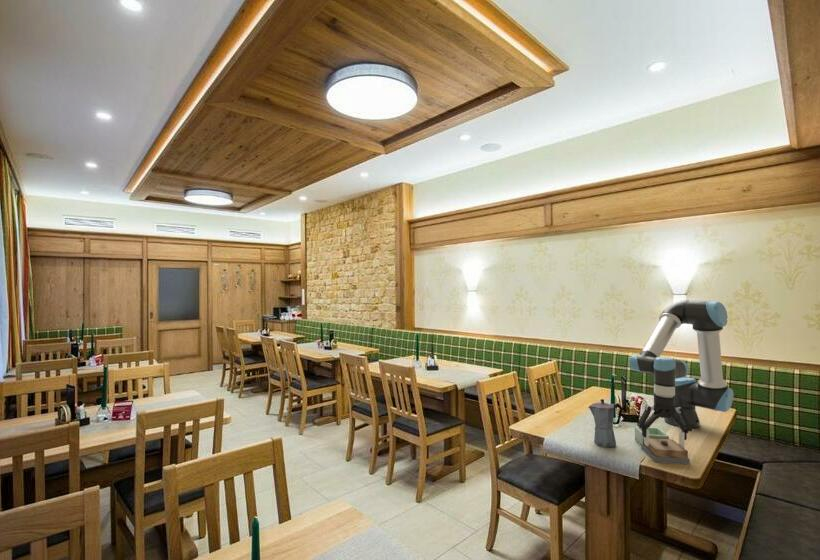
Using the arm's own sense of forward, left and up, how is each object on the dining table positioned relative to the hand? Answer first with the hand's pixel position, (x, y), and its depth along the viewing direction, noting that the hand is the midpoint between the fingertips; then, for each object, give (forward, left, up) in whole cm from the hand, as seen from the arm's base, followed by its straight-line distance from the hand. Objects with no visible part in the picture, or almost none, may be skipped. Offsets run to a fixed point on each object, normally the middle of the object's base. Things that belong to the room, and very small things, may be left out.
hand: (663, 446), depth 167 cm
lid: (0, 0, -2) cm, 2 cm away
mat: (0, 0, -4) cm, 4 cm away
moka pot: (+20, -10, -5) cm, 23 cm away
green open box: (0, -12, -4) cm, 13 cm away
